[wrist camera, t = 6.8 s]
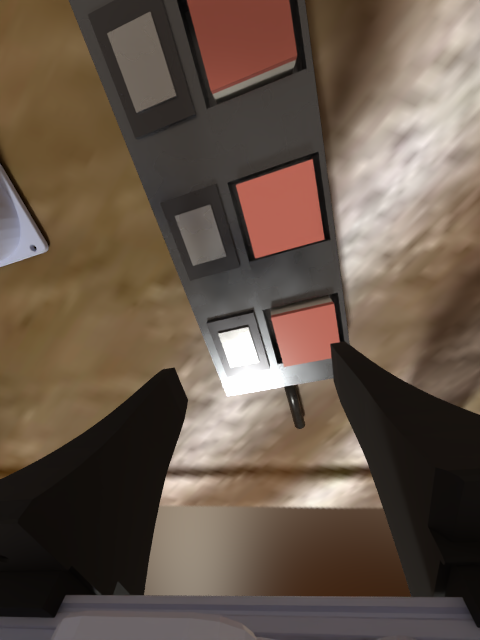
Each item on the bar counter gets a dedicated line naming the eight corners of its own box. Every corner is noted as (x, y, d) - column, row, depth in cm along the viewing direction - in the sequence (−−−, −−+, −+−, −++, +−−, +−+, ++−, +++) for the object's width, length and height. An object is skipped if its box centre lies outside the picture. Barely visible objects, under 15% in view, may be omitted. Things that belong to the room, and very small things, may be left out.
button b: (256, 249, 18) (255, 258, 15) (240, 186, 16) (235, 184, 13) (315, 232, 17) (324, 239, 14) (304, 165, 15) (312, 158, 13)
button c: (219, 109, 14) (210, 91, 12) (194, 12, 13) (178, -32, 10) (290, 81, 14) (297, 55, 11) (273, -26, 12) (276, -84, 9)
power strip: (250, 426, 27) (249, 457, 23) (93, 6, 14) (44, -49, 11) (351, 412, 25) (363, 443, 22) (277, -92, 12) (282, -194, 9)
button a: (281, 346, 21) (283, 367, 18) (269, 301, 19) (271, 318, 17) (331, 336, 20) (341, 356, 17) (324, 289, 18) (333, 303, 16)
